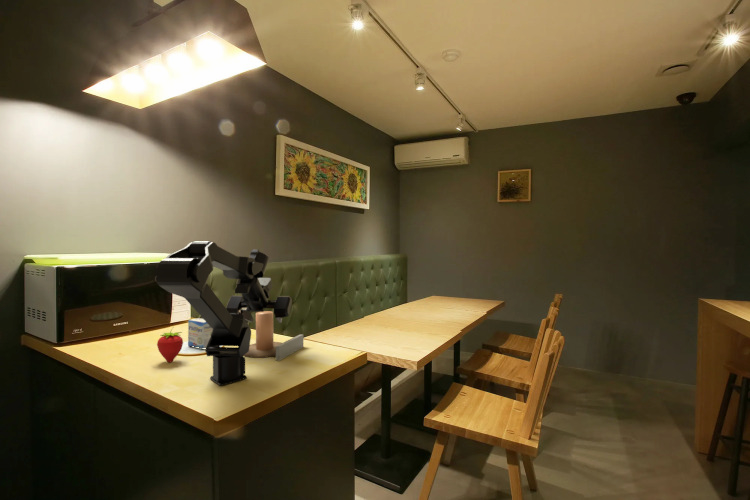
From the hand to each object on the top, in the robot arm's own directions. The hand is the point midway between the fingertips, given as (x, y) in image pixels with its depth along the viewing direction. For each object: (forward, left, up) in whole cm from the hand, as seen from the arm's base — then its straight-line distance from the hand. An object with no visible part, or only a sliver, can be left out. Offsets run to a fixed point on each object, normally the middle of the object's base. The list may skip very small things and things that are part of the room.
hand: (266, 321), depth 110 cm
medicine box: (-13, +18, -9) cm, 24 cm away
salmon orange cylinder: (-1, -1, -8) cm, 8 cm away
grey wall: (+3, -9, -9) cm, 13 cm away
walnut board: (-1, -1, -9) cm, 9 cm away
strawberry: (-25, +8, -9) cm, 28 cm away
